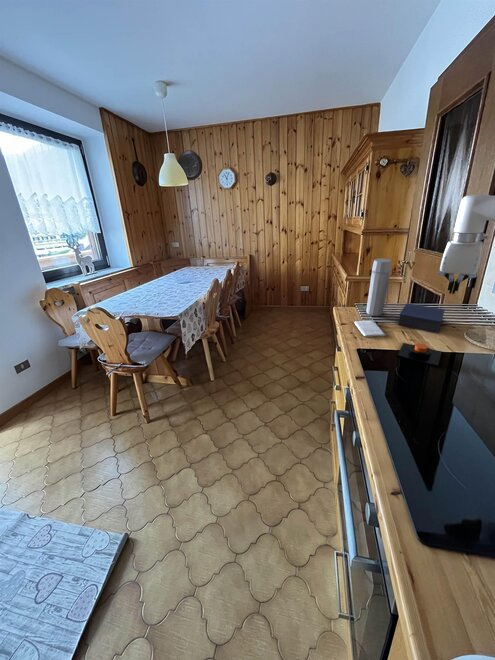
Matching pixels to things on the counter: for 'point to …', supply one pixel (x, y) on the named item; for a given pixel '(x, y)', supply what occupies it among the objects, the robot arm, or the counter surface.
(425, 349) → the button
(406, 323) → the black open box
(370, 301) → the water bottle
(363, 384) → the counter surface
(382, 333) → the hard drive
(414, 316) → the cover
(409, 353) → the switch block
